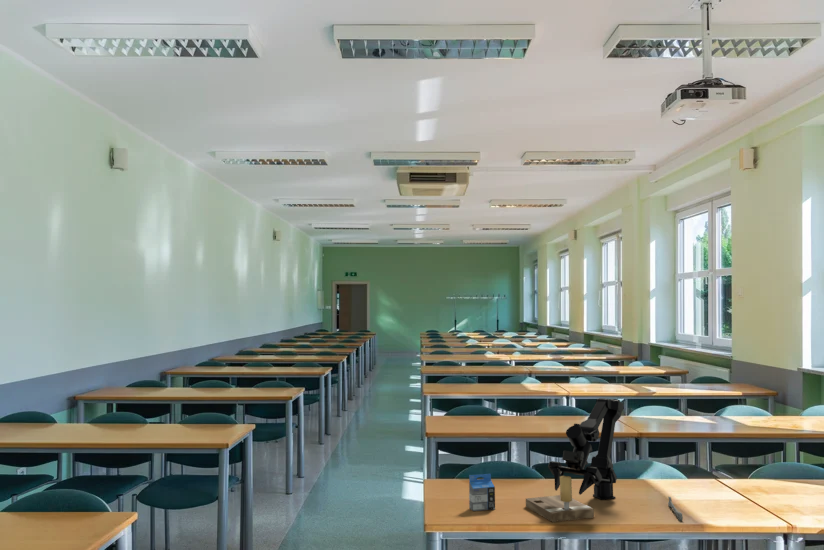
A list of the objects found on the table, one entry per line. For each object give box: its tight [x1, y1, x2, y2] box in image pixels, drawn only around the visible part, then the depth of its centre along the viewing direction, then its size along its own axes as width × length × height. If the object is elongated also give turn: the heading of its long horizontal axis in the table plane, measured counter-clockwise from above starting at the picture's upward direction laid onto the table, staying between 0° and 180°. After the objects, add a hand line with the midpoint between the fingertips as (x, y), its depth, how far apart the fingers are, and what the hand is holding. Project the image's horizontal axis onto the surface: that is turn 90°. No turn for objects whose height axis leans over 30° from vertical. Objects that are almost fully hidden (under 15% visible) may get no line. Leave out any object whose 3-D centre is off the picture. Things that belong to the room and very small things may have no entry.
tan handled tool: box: [559, 475, 573, 511], centre depth 239 cm, size 4×4×14 cm
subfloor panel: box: [525, 494, 595, 523], centre depth 246 cm, size 16×20×3 cm
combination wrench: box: [667, 496, 684, 522], centre depth 244 cm, size 4×1×20 cm
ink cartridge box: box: [468, 473, 496, 512], centre depth 251 cm, size 9×4×12 cm, turn 105°
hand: (567, 491), depth 240 cm, fingers open, 9 cm apart
